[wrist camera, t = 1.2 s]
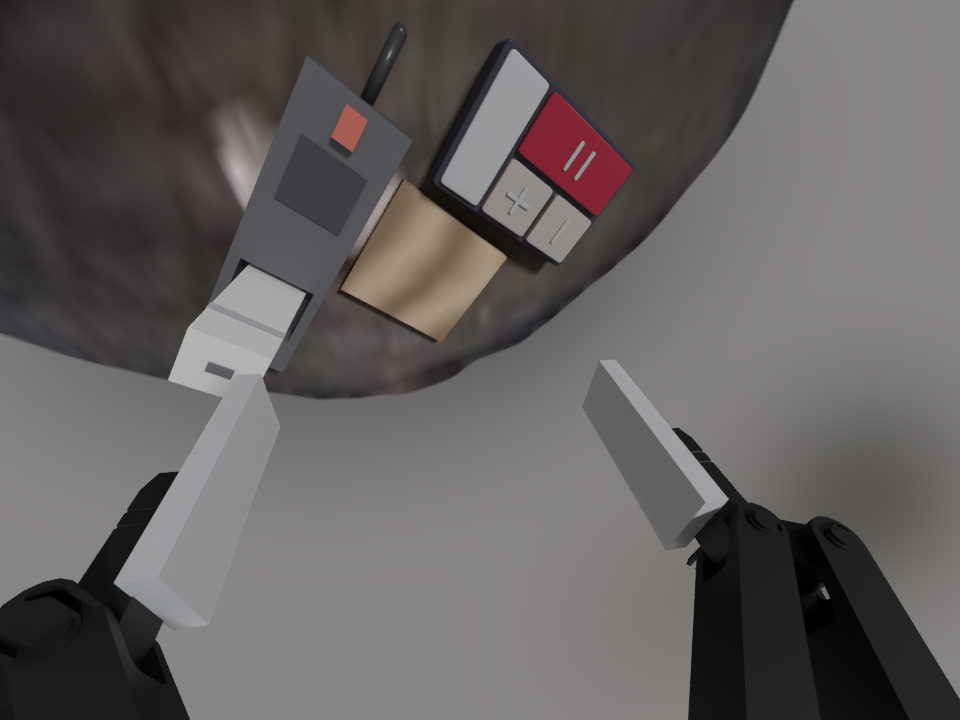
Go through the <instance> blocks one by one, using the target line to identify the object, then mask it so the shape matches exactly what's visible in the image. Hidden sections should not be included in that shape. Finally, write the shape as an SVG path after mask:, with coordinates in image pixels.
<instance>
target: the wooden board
mask: <svg viewBox="0 0 960 720" xmlns="http://www.w3.org/2000/svg"><path fill="white" fill-rule="evenodd" d="M506 259H507V257H506V255H505V254H504V253H503V252H502V251H500V250H499V249H498V248H496V247H495V246H494V245H492V244H491V243H490V242H488V241H487V240H486V239H484V238H483V237H482V236H480V235H479V234H478V233H476V232H475V231H474V230H472V229H471V228H470V227H468V226H467V225H466V224H464V223H463V222H462V221H460V220H459V219H458V218H456V217H455V216H453V215H452V214H451V213H449V212H448V211H447V210H445V209H444V208H443V207H441V206H440V205H439V204H437V203H436V202H435V201H433V200H432V199H431V198H429V197H428V196H427V195H425V194H424V193H423V192H421V191H420V190H419V189H417V188H416V187H415V186H413V185H412V184H411V183H409V182H408V181H407V180H405V179H404V178H403V180H402V182H401V184H400V185H399V187H398V189H397V191H396V192H395V194H394V196H393V197H392V199H391V201H390V203H389V204H388V206H387V208H386V210H385V211H384V213H383V215H382V217H381V218H380V220H379V222H378V223H377V225H376V227H375V229H374V230H373V232H372V234H371V236H370V237H369V239H368V241H367V243H366V244H365V246H364V248H363V249H362V251H361V253H360V255H359V256H358V258H357V260H356V262H355V263H354V265H353V267H352V269H351V270H350V272H349V274H348V275H347V277H346V279H345V281H344V282H343V284H342V287H341V290H343V291H345V292H347V293H349V294H351V295H353V296H355V297H356V298H358V299H360V300H362V301H364V302H366V303H368V304H370V305H372V306H374V307H375V308H377V309H379V310H381V311H383V312H385V313H387V314H389V315H391V316H393V317H395V318H396V319H398V320H400V321H402V322H404V323H406V324H408V325H410V326H412V327H414V328H416V329H417V330H419V331H421V332H423V333H425V334H427V335H429V336H431V337H433V338H435V339H436V340H438V341H440V342H442V341H443V339H444V338H445V337H446V336H447V334H448V333H449V332H450V330H451V329H452V328H453V327H454V325H455V324H456V323H457V321H458V320H459V319H460V318H461V316H462V315H463V314H464V312H465V311H466V310H467V309H468V307H469V306H470V305H471V303H472V302H473V301H474V300H475V298H476V297H477V296H478V295H479V293H480V292H481V291H482V289H483V288H484V287H485V286H486V284H487V283H488V282H489V280H490V279H491V278H492V277H493V275H494V274H495V273H496V271H497V270H498V269H499V268H500V266H501V265H502V264H503V262H504V261H505V260H506Z"/></svg>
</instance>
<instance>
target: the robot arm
mask: <svg viewBox="0 0 960 720" xmlns="http://www.w3.org/2000/svg"><path fill="white" fill-rule="evenodd" d="M583 409H584V411H585V412H586V414H587V416H588V418H589V419H590V421H591V423H592V424H593V426H594V428H595V430H596V431H597V433H598V435H599V436H600V438H601V440H602V442H603V443H604V445H605V447H606V448H607V450H608V452H609V454H610V455H611V457H612V459H613V460H614V462H615V464H616V466H617V467H618V469H619V471H620V472H621V474H622V476H623V478H624V479H625V481H626V483H627V484H628V486H629V488H630V490H631V491H632V493H633V495H634V496H635V498H636V500H637V501H638V503H639V505H640V507H641V509H642V510H643V512H644V514H645V515H646V517H647V519H648V520H649V522H650V524H651V526H652V527H653V529H654V531H655V533H656V534H657V536H658V538H659V539H660V541H661V543H662V545H663V546H664V548H665V550H670V549H676V548H682V547H686V546H687V545H688V544H689V543H690V542H691V541H692V540H693V539H694V538H696V540H697V541H698V543H699V544H700V547H699V548H698V549H697V550H696V551H695V552H694V554H692V555H691V557H690V558H689V559H688V561H687V565H689V566H691V565H692V564H693V562H695V561H696V560H697V562H696V568H695V569H696V580H695V599H694V620H693V638H692V657H691V676H690V695H689V715H688V720H960V699H959V697H958V696H957V694H956V692H955V691H954V689H953V687H952V686H951V684H950V683H949V681H948V679H947V678H946V676H945V674H944V673H943V671H942V670H941V668H940V667H939V665H938V663H937V661H936V660H935V658H934V656H933V655H932V653H931V652H930V650H929V648H928V647H927V645H926V644H925V642H924V640H923V639H922V637H921V635H920V634H919V632H918V630H917V629H916V627H915V626H914V624H913V622H912V621H911V619H910V618H909V616H908V614H907V613H906V611H905V609H904V608H903V606H902V604H901V603H900V601H899V600H898V598H897V596H896V595H895V593H894V592H893V590H892V588H891V586H890V585H889V583H888V582H887V580H886V578H885V577H884V575H883V573H882V572H881V570H880V569H879V567H878V565H877V564H876V562H875V560H874V559H873V557H872V556H871V554H870V552H869V551H868V549H867V547H866V546H865V544H864V543H863V542H862V541H861V540H860V538H859V537H858V536H857V535H856V534H855V533H854V532H852V531H851V530H850V529H849V528H847V527H846V526H844V525H842V524H841V523H839V522H838V521H835V520H833V519H830V518H828V517H821V516H818V517H815V518H813V519H811V520H810V521H809V522H808V523H807V524H800V523H795V522H790V521H785V520H780V519H779V518H778V517H777V516H775V515H774V514H773V513H772V512H771V511H769V510H767V509H766V508H764V507H762V506H760V505H757V504H754V503H748V502H747V501H746V500H745V499H744V498H743V497H742V496H741V495H740V494H739V492H738V491H737V490H736V489H735V488H734V487H733V485H732V484H731V483H730V482H729V481H728V479H727V478H726V477H725V476H724V475H723V474H722V472H721V471H720V470H719V469H718V468H717V467H716V465H715V464H714V463H713V462H711V460H710V458H709V457H708V456H707V455H706V454H705V453H703V452H702V449H701V448H700V447H699V445H697V443H696V442H695V441H694V440H693V438H691V437H690V436H689V435H687V434H686V433H684V432H683V431H682V430H681V429H679V428H673V429H671V428H670V426H669V425H668V424H667V423H666V421H665V420H664V419H663V418H662V417H661V415H660V414H659V413H658V412H657V411H656V409H655V408H654V407H653V405H652V404H651V403H650V402H649V401H648V399H647V398H646V397H645V396H644V394H643V393H642V392H641V391H640V389H639V388H638V387H637V386H636V385H635V383H634V382H633V381H632V380H631V378H630V377H629V376H628V375H627V373H626V372H625V371H624V370H623V369H622V367H621V366H620V365H619V364H618V362H617V361H616V360H599V362H598V365H597V368H596V371H595V373H594V376H593V379H592V382H591V384H590V387H589V390H588V393H587V396H586V398H585V401H584V404H583ZM279 429H280V426H279V423H278V420H277V417H276V415H275V412H274V409H273V406H272V404H271V401H270V398H269V395H268V393H267V390H266V387H265V384H264V382H263V379H262V376H261V374H242V375H236V376H235V378H234V380H233V381H232V383H231V385H230V387H229V388H228V390H227V392H226V393H225V395H224V397H223V398H222V400H221V402H220V403H219V405H218V407H217V409H216V410H215V412H214V414H213V416H212V417H211V419H210V420H209V422H208V424H207V426H206V427H205V429H204V431H203V433H202V434H201V436H200V438H199V439H198V441H197V442H196V444H195V446H194V448H193V449H192V451H191V453H190V455H189V456H188V458H187V460H186V461H185V463H184V464H183V466H182V468H181V470H180V471H179V472H168V473H159V474H158V475H157V476H156V477H154V478H153V479H152V480H151V481H150V482H149V483H148V484H147V485H145V486H144V487H143V488H142V489H141V490H140V491H139V493H138V494H137V496H136V497H135V499H134V500H133V502H132V503H131V505H130V506H129V508H128V509H127V510H128V511H127V513H125V514H124V515H123V517H122V518H121V520H120V521H119V523H118V524H117V528H116V529H114V530H113V532H112V533H111V535H110V536H109V538H108V539H107V541H106V542H105V544H104V545H103V547H102V548H101V550H100V551H99V553H98V554H97V556H96V558H95V559H94V560H93V562H92V563H91V565H90V566H89V568H88V569H87V571H86V573H85V574H84V576H83V577H82V579H81V580H80V582H79V583H78V584H77V583H76V582H74V581H73V580H68V579H61V578H59V579H55V580H50V581H45V582H42V583H40V584H38V585H36V586H33V587H31V588H29V589H27V590H24V591H23V592H21V593H20V594H18V595H17V596H15V597H14V598H12V599H11V600H10V601H8V602H7V603H5V604H4V605H3V606H2V607H1V608H0V720H190V718H189V716H188V714H187V711H186V709H185V706H184V704H183V701H182V699H181V696H180V694H179V691H178V689H177V687H176V684H175V682H174V679H173V677H172V674H171V672H170V669H169V667H168V665H167V662H166V660H165V657H164V655H163V652H162V650H161V647H160V645H159V643H158V642H157V641H156V640H155V638H156V636H157V634H158V632H159V629H160V627H161V625H162V623H164V624H166V625H167V626H168V627H169V628H171V629H172V630H179V629H185V628H191V627H197V626H203V625H208V624H209V621H210V618H211V616H212V613H213V610H214V607H215V605H216V602H217V599H218V596H219V594H220V591H221V588H222V585H223V583H224V580H225V577H226V575H227V572H228V569H229V566H230V563H231V561H232V558H233V555H234V552H235V550H236V547H237V544H238V541H239V539H240V536H241V533H242V531H243V528H244V525H245V522H246V520H247V517H248V514H249V511H250V509H251V506H252V503H253V501H254V498H255V495H256V492H257V490H258V487H259V484H260V481H261V478H262V476H263V473H264V470H265V467H266V465H267V462H268V459H269V457H270V454H271V451H272V448H273V446H274V443H275V440H276V437H277V435H278V432H279ZM823 587H825V588H826V590H827V592H828V594H829V596H830V599H828V600H827V599H826V598H825V596H824V594H823V593H822V590H821V588H823Z"/></svg>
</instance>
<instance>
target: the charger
mask: <svg viewBox="0 0 960 720" xmlns="http://www.w3.org/2000/svg"><path fill="white" fill-rule="evenodd" d="M306 293H307V291H306V290H304V289H302V288H300V287H298V286H296V285H294V284H292V283H290V282H288V281H286V280H284V279H282V278H280V277H278V276H276V275H274V274H272V273H270V272H268V271H266V270H264V269H262V268H260V267H258V266H256V265H254V264H252V263H250V264H249V265H248V266H247V267H246V268H245V269H244V270H243V271H242V272H241V273H240V274H239V275H238V276H237V277H236V278H235V279H234V280H233V281H232V282H231V283H230V284H229V285H228V287H227V288H226V289H225V290H224V291H223V292H222V293H221V294H220V295H219V296H218V297H217V298H216V299H215V300H214V301H213V302H211V303H210V304H209V305H208V306H207V307H206V309H205V310H204V311H203V312H202V314H201V315H200V316H199V317H198V318H197V319H196V320H195V321H194V322H193V323H192V324H191V325H190V326H189V327H188V329H187V332H186V335H185V337H184V340H183V343H182V345H181V348H180V350H179V353H178V356H177V358H176V361H175V363H174V366H173V369H172V371H171V374H170V377H169V379H168V381H171V382H174V383H178V384H181V385H184V386H187V387H190V388H194V389H196V390H199V391H203V392H206V393H209V394H212V395H215V396H218V397H221V398H223V397H224V395H225V393H226V392H227V390H228V388H229V387H230V385H231V383H232V381H233V380H234V378H235V376H236V375H242V374H261V376H262V378H263V377H264V375H265V373H266V371H267V369H268V367H269V365H270V364H271V362H272V360H273V358H274V356H275V354H276V352H277V350H278V349H279V347H280V345H281V343H282V341H283V339H284V337H285V335H286V332H287V330H288V328H289V326H290V324H291V322H292V320H293V318H294V316H295V314H296V312H297V310H298V308H299V306H300V305H301V303H302V301H303V299H304V297H305V295H306Z"/></svg>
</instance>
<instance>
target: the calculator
mask: <svg viewBox="0 0 960 720" xmlns="http://www.w3.org/2000/svg"><path fill="white" fill-rule="evenodd" d="M634 168H635V165H634V163H633V162H632V161H631V160H630V159H629V158H628V157H627V156H626V155H625V154H624V153H623V152H622V151H621V150H620V149H619V148H618V147H617V146H616V145H615V143H614V142H613V141H612V140H611V139H610V138H609V137H608V136H607V135H606V134H605V133H604V132H603V131H602V130H601V129H600V128H599V127H598V126H597V125H596V124H595V123H594V122H593V121H592V120H591V118H590V117H589V116H588V115H587V114H586V113H585V112H584V111H583V110H582V109H581V108H580V107H579V106H578V105H577V104H576V103H575V102H574V101H573V100H572V99H571V98H570V97H569V96H568V94H567V93H566V92H565V91H564V90H563V89H562V88H561V87H560V86H559V85H558V84H557V83H556V82H555V81H554V80H553V79H552V78H551V77H550V76H549V75H548V74H547V73H546V72H545V71H544V69H543V68H542V67H541V66H540V65H539V64H538V63H537V62H536V61H535V60H534V59H533V58H532V57H531V56H530V55H529V54H528V53H527V52H526V51H525V50H524V49H523V48H522V47H521V46H520V44H519V43H518V42H517V41H516V40H514V39H507V40H505V41H502V42H499V43H497V44H496V45H495V47H494V49H493V50H492V52H491V54H490V56H489V58H488V60H487V62H486V64H485V66H484V68H483V70H482V72H481V73H480V75H479V77H478V79H477V81H476V83H475V85H474V87H473V89H472V91H471V93H470V95H469V96H468V98H467V100H466V102H465V104H464V106H463V108H462V110H461V112H460V114H459V116H458V118H457V119H456V121H455V123H454V125H453V127H452V129H451V131H450V133H449V135H448V137H447V139H446V141H445V142H444V144H443V146H442V148H441V150H440V152H439V154H438V156H437V158H436V160H435V162H434V164H433V166H432V167H431V170H430V176H431V178H432V180H433V182H434V184H435V185H436V186H437V187H439V188H440V189H441V190H443V191H444V192H446V193H447V194H449V195H450V196H452V197H453V198H455V199H456V200H458V201H459V202H461V203H462V204H464V205H465V206H467V207H468V208H470V209H471V210H473V211H474V212H476V213H477V214H479V215H480V216H482V217H483V218H485V219H486V220H488V221H489V222H491V223H492V224H494V225H495V226H497V227H498V228H500V229H501V230H503V231H504V232H506V233H507V234H508V235H510V236H511V237H513V238H514V239H516V240H517V241H519V242H520V243H522V244H523V245H525V246H526V247H528V248H529V249H531V250H532V251H534V252H535V253H537V254H538V255H540V256H541V257H543V258H544V259H546V260H547V261H549V262H550V263H552V264H553V265H555V266H559V265H560V264H561V263H562V262H563V261H564V260H565V258H566V257H567V256H568V254H569V253H570V252H571V251H572V249H573V248H574V247H575V245H576V244H577V243H578V242H579V240H580V239H581V238H582V236H583V235H584V234H585V233H586V231H587V230H588V229H589V227H590V226H591V225H592V224H593V222H594V221H595V220H596V218H597V217H598V216H599V215H600V213H601V212H602V211H603V209H604V208H605V207H606V206H607V204H608V203H609V202H610V200H611V199H612V198H613V197H614V195H615V194H616V193H617V191H618V190H619V189H620V188H621V186H622V185H623V184H624V182H625V181H626V180H627V179H628V177H629V176H630V175H631V173H632V172H633V171H634Z"/></svg>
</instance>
